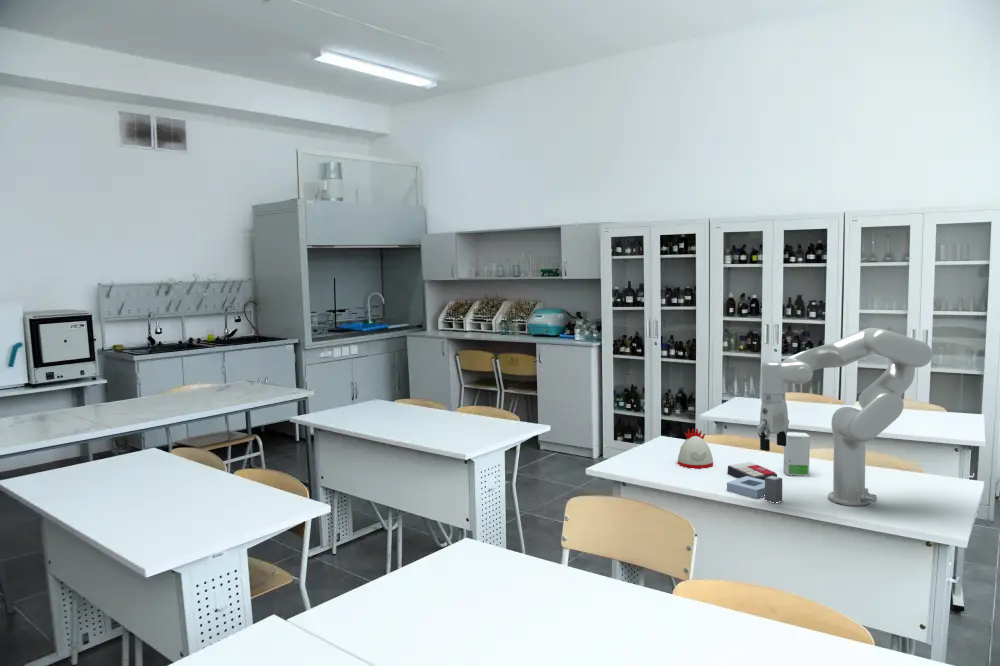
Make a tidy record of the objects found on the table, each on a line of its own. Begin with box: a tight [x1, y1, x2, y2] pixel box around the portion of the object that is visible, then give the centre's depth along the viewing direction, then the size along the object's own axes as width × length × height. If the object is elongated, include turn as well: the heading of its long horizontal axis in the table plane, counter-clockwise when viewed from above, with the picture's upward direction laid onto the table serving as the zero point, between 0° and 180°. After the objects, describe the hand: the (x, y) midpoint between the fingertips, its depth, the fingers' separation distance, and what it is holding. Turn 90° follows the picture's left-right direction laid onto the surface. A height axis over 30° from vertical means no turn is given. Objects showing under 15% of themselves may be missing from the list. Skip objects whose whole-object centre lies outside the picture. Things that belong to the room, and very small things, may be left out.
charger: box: [764, 476, 783, 504], centre depth 231 cm, size 4×4×8 cm
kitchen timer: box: [677, 428, 714, 470], centre depth 279 cm, size 14×14×15 cm
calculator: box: [727, 461, 778, 480], centre depth 259 cm, size 11×4×15 cm
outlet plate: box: [726, 476, 765, 499], centre depth 243 cm, size 12×12×3 cm
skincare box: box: [782, 431, 811, 477], centre depth 261 cm, size 8×7×16 cm
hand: (773, 448), depth 230 cm, fingers open, 9 cm apart
